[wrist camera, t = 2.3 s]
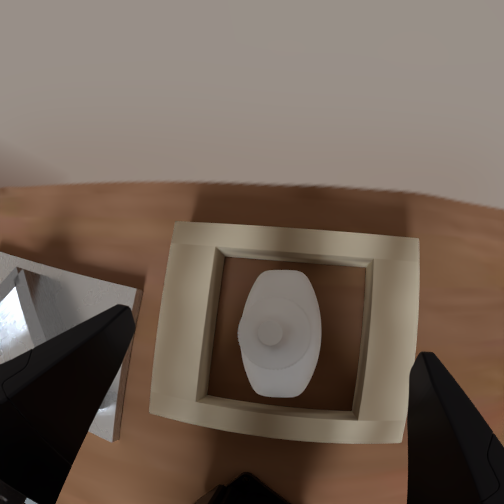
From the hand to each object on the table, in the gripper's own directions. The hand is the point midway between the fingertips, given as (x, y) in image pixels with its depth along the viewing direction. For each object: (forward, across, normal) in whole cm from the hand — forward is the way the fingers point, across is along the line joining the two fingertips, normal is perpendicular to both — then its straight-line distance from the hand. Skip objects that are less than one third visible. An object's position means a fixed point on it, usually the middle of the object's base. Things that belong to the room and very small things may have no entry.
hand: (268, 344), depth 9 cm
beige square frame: (+8, 0, +8) cm, 12 cm away
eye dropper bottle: (+9, 0, +8) cm, 12 cm away
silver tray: (+5, +21, +11) cm, 24 cm away
